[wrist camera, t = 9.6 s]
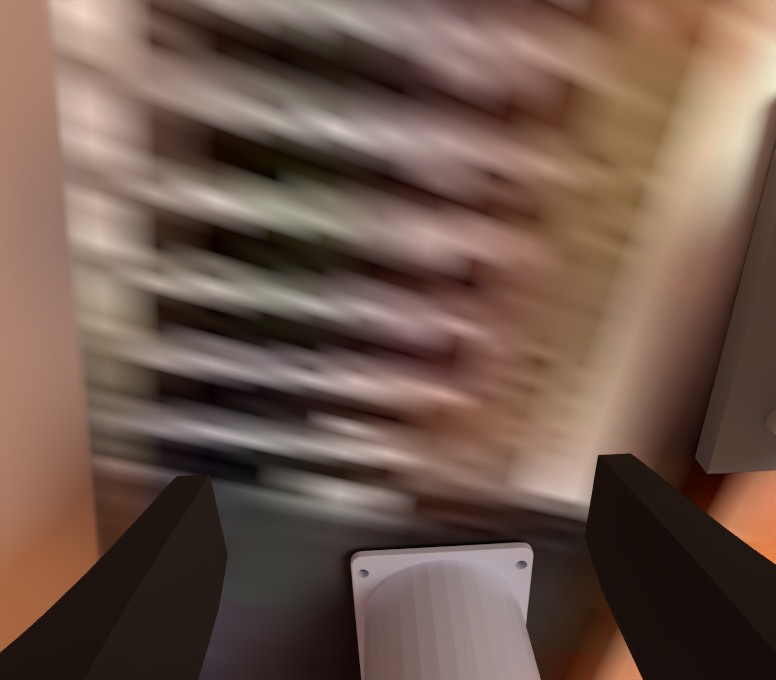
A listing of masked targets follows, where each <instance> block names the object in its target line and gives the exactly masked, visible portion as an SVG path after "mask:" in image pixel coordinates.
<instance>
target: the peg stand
mask: <svg viewBox="0 0 776 680" xmlns="http://www.w3.org/2000/svg"><path fill="white" fill-rule="evenodd" d="M695 459H696V460H697V461H698V463H699V464H700V465H701V466H702V468H703V469H704V470H705V471H706V473H707V474H715V473H734V472H752V471H771V470H776V143H775V147H774V151H773V155H772V159H771V163H770V167H769V171H768V175H767V179H766V182H765V186H764V190H763V194H762V198H761V202H760V206H759V210H758V214H757V217H756V221H755V225H754V229H753V233H752V237H751V241H750V245H749V249H748V253H747V256H746V260H745V264H744V268H743V272H742V276H741V280H740V284H739V288H738V292H737V295H736V299H735V303H734V307H733V311H732V315H731V319H730V323H729V327H728V331H727V334H726V338H725V342H724V346H723V350H722V354H721V358H720V362H719V366H718V370H717V373H716V377H715V381H714V385H713V389H712V393H711V397H710V401H709V405H708V409H707V412H706V416H705V420H704V424H703V428H702V432H701V436H700V440H699V444H698V447H697V451H696V455H695Z"/></svg>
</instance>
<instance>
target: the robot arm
mask: <svg viewBox="0 0 776 680" xmlns="http://www.w3.org/2000/svg"><path fill="white" fill-rule="evenodd" d="M585 539H586V542H587V545H588V549H589V552H590V555H591V558H592V562H593V565H594V568H595V571H596V574H597V577H598V580H599V583H600V586H601V589H602V591H603V593H604V596H605V598H606V600H607V602H608V605H609V607H610V609H611V611H612V613H613V616H614V618H615V620H616V622H617V624H618V627H619V629H620V631H621V633H622V635H623V638H624V640H625V642H626V644H627V646H628V648H629V650H630V653H631V655H632V657H633V659H634V661H635V663H636V666H637V668H638V670H639V672H640V674H641V676H642V679H643V680H776V564H774V563H773V562H771V561H770V560H768V559H767V558H766V557H764V556H763V555H761V554H760V553H758V552H757V551H756V550H754V549H753V548H752V547H750V546H749V545H747V544H746V543H745V542H743V541H742V540H741V539H739V538H738V537H737V536H735V535H734V534H733V533H731V532H730V531H729V530H727V529H726V528H725V527H723V526H722V525H721V524H719V523H718V522H717V521H716V520H714V519H713V518H712V517H710V516H709V515H708V514H706V513H705V512H704V511H703V510H701V509H700V508H699V507H698V506H696V505H695V504H694V503H693V502H691V501H690V500H689V499H688V498H686V497H685V496H684V495H683V494H681V493H680V492H679V491H678V490H676V489H675V488H674V487H673V486H671V485H670V484H669V483H668V482H666V481H665V480H664V479H663V478H661V477H660V476H659V475H658V474H656V473H655V472H654V471H653V470H651V469H650V468H649V467H648V466H646V465H645V464H644V463H643V462H641V461H640V460H639V459H637V458H636V457H635V456H633V455H632V454H612V455H598V459H597V465H596V471H595V477H594V483H593V489H592V495H591V502H590V508H589V514H588V520H587V526H586V532H585ZM227 556H228V555H227V550H226V546H225V541H224V537H223V532H222V528H221V523H220V519H219V514H218V510H217V505H216V501H215V496H214V492H213V487H212V483H211V478H210V475H195V476H177V477H176V478H175V479H174V480H173V481H172V482H171V483H170V484H169V485H168V486H167V487H166V488H165V489H164V490H163V491H162V492H161V494H160V495H159V496H158V497H157V498H156V499H155V500H154V501H153V502H152V503H151V505H150V506H149V507H148V508H147V509H146V510H145V511H144V512H143V513H142V514H141V516H140V517H139V518H138V519H137V520H136V521H135V522H134V523H133V524H132V525H131V526H130V528H129V529H128V530H127V531H126V532H125V533H124V534H123V535H122V536H121V537H120V538H119V539H118V540H117V542H116V543H115V544H114V545H113V546H112V547H111V548H110V549H109V550H108V551H107V552H106V553H105V554H104V555H103V556H102V557H101V558H100V559H99V560H98V562H97V563H96V564H95V565H94V566H93V567H92V568H91V569H90V570H89V571H88V572H87V573H86V574H85V575H84V576H83V577H82V578H81V579H80V580H79V581H78V582H77V583H76V584H75V585H74V586H73V587H72V588H71V589H70V590H69V591H67V592H66V593H65V594H64V595H63V596H62V597H61V598H60V599H59V600H58V601H57V602H56V603H55V604H54V605H53V606H52V607H51V608H50V609H49V610H48V611H47V612H46V613H45V614H44V615H43V616H41V617H40V618H39V619H38V620H37V621H36V622H35V623H34V624H33V625H32V626H31V627H29V628H28V629H27V630H26V631H25V632H24V633H22V634H21V635H20V636H19V637H18V638H17V639H16V640H15V641H13V642H12V643H11V644H10V645H9V646H7V647H6V648H5V649H4V650H3V651H1V652H0V680H198V678H199V675H200V672H201V668H202V665H203V661H204V658H205V655H206V651H207V648H208V644H209V641H210V637H211V634H212V630H213V627H214V624H215V620H216V616H217V613H218V609H219V604H220V598H221V593H222V587H223V581H224V575H225V568H226V562H227ZM519 561H522V562H519ZM532 563H533V552H532V549H531V546H530V545H529V544H527V543H522V542H519V543H501V544H483V545H465V546H447V547H429V548H410V549H392V550H374V551H360V552H357V553H355V554H353V556H352V557H351V573H352V584H353V595H354V605H355V616H356V627H357V638H358V648H359V659H360V670H361V680H541V679H540V676H539V672H538V668H537V665H536V661H535V658H534V654H533V650H532V647H531V643H530V639H529V636H528V632H527V629H526V619H527V609H528V600H529V591H530V581H531V572H532ZM360 570H365V571H360Z"/></svg>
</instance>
